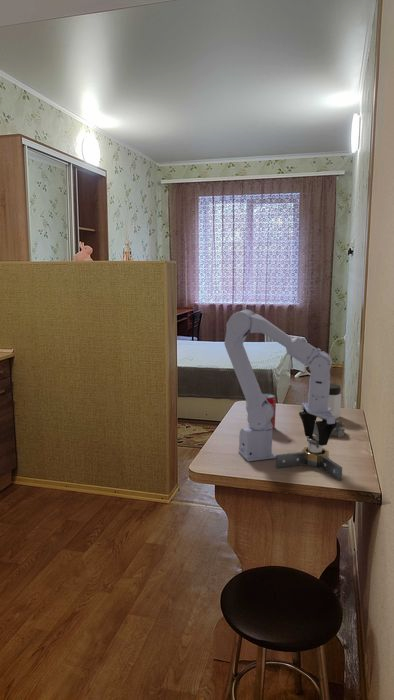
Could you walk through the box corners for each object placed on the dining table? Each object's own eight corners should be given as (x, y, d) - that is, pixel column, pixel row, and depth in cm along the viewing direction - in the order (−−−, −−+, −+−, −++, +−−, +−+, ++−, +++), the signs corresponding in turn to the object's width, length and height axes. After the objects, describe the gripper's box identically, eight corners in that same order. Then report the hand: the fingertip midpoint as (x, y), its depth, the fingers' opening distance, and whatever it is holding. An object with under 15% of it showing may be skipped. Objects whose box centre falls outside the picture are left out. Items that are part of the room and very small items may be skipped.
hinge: (298, 486, 130) (299, 473, 130) (270, 462, 145) (271, 451, 145) (351, 478, 135) (352, 466, 135) (318, 456, 150) (319, 445, 150)
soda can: (276, 431, 172) (277, 397, 170) (257, 431, 173) (258, 397, 171) (273, 425, 179) (275, 393, 177) (256, 425, 179) (257, 392, 177)
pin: (311, 466, 143) (313, 442, 142) (302, 460, 148) (303, 436, 146) (326, 464, 145) (328, 440, 143) (317, 458, 149) (318, 435, 148)
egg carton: (343, 431, 174) (344, 420, 174) (344, 438, 167) (345, 427, 166) (311, 428, 177) (312, 417, 176) (312, 435, 169) (313, 424, 169)
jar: (343, 419, 187) (345, 388, 185) (323, 420, 185) (325, 389, 183) (331, 412, 196) (333, 382, 194) (312, 413, 194) (314, 383, 192)
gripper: (345, 400, 137) (342, 447, 139) (317, 387, 150) (314, 430, 153) (323, 402, 135) (320, 450, 137) (296, 389, 148) (293, 433, 150)
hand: (315, 440), depth 145 cm, fingers open, 7 cm apart
